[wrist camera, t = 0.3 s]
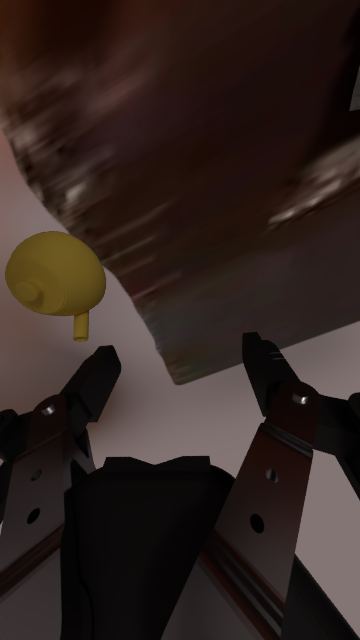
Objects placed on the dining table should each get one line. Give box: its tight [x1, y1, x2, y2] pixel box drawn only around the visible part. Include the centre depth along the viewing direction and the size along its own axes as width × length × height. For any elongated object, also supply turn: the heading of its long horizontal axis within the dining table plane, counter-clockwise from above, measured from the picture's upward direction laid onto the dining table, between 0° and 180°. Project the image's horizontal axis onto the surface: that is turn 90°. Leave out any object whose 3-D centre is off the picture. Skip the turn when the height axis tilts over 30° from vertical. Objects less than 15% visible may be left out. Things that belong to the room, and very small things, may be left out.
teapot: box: [5, 231, 106, 341], centre depth 33 cm, size 20×16×14 cm
